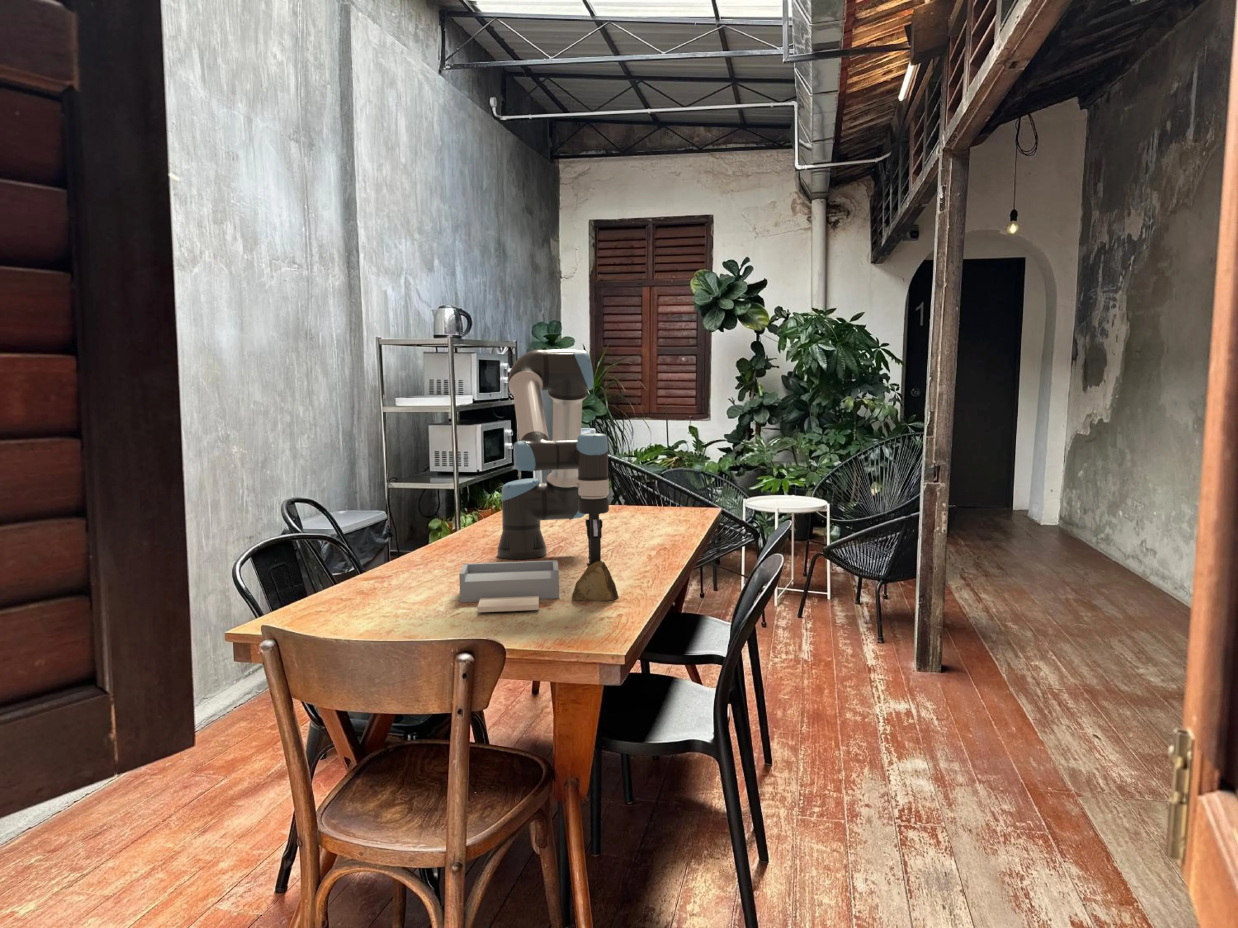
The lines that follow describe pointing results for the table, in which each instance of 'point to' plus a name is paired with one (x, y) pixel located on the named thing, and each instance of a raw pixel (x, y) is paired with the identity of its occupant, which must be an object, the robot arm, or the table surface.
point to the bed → (509, 580)
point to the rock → (595, 584)
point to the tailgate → (508, 604)
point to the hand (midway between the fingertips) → (595, 590)
